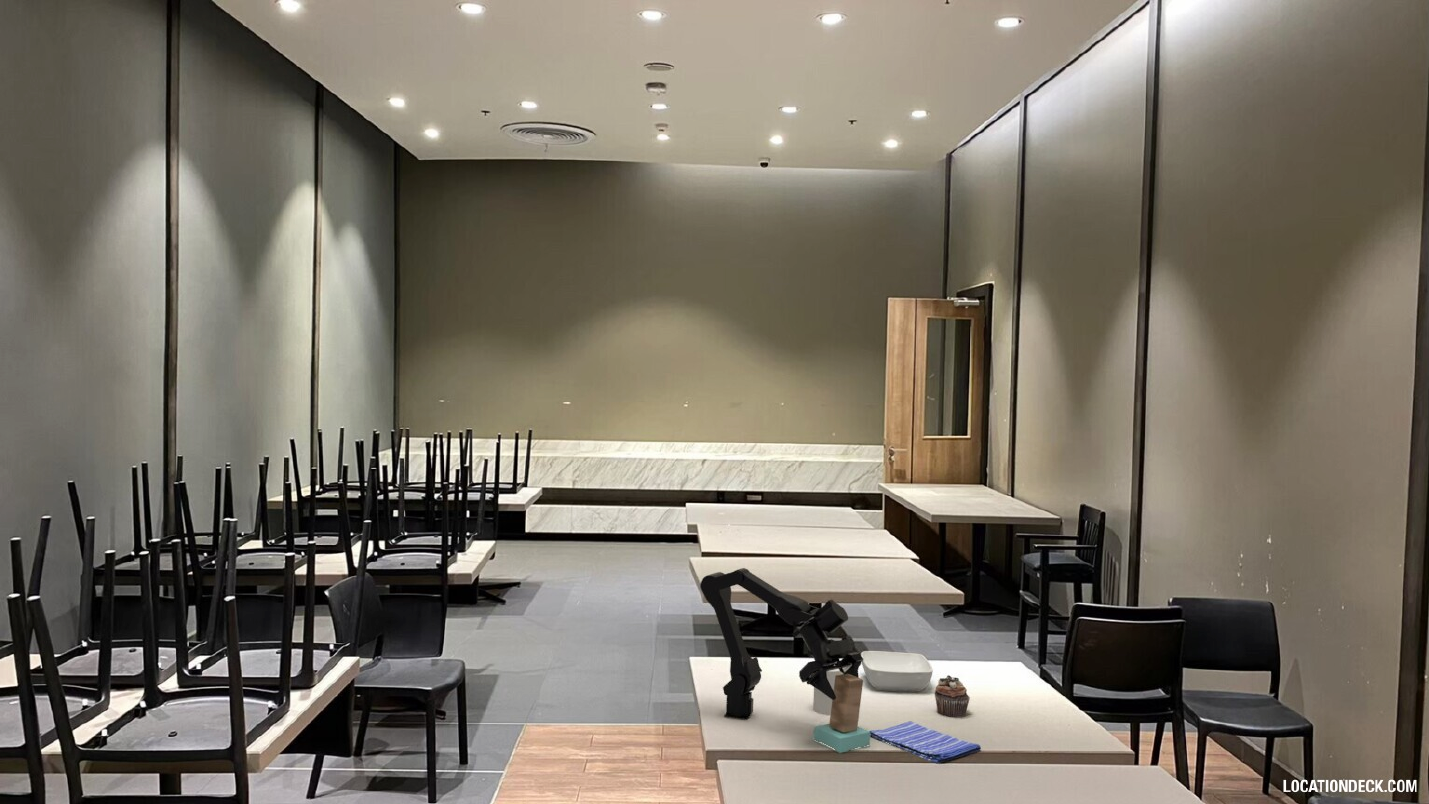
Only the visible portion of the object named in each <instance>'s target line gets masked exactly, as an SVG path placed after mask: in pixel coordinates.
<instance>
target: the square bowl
mask: <svg viewBox="0 0 1429 804" xmlns="http://www.w3.org/2000/svg"><path fill="white" fill-rule="evenodd" d="M860 654H861V656H862V658H863V661H862V662H861V666H862V668H863V671H864V674H865V677H866V679H867V681H868V682H869V683H870V684H871V685H872V686H873V687H874V688H875V690H878V691H887V692H888V691H891V692H911V693H913V692H915V693H919V692H920V691H922V690H923V689H925V688H926V687H928V685H929V684H930V682H931V679H932V677H933V670H934V669H933V666H932V665H931V663H930V662H929V661H930V660H928V659H927V657H925V656H924V655H923V654H921V653H914V652H901V651H900V652H898V651H897V652H896V651H895V652H894V651H882V650H881V651H880V650H864V651H862V652H861V653H860Z"/></svg>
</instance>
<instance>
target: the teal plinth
mask: <svg viewBox="0 0 1429 804" xmlns="http://www.w3.org/2000/svg"><path fill="white" fill-rule="evenodd" d="M869 731H870V730H867V729H864V728H862V727H860V726H858V727H857V731H851V732H844V733H843V732H841V731H839V730H836V729H834V728H832V727H829V723H826V724H821V725H820V724H819V725H817V726H814V727H813V741H814V740H816V741H818V742H822V743H824V744H826V745H828V746H830V747H832V748H834V749H835V750H836V751H835V752H837V753H839V754H841V753H846V752H849V751H848V750H851V751H853V750H852V749H855V748H858V747H864V746H867V745H870V746H871V737H870V732H869ZM816 741H815V742H816ZM818 742H817V743H818ZM864 748H865V747H864ZM855 750H856V749H855Z"/></svg>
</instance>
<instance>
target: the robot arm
mask: <svg viewBox="0 0 1429 804" xmlns="http://www.w3.org/2000/svg"><path fill="white" fill-rule="evenodd" d="M699 586H700V590H701V592H702V594H703V597H704V598H705V600H706V601H707V602H708V604H710V606H711V607H712V608H713V610H714V613H715V616H716V619H717V621H718V625H719V628H720V632H721V633H722V634H721V635H722V637H723V640H724V642H725V646H726V648H727V652H728V655H729V658H730V664H729V665H730V667H729V674H730V680H729V681H728V682H727V683H726V684H725V685H724V686H722V690H723V693H724V696H726V702H725V703H726V706H725V707H726V708H725V709H726V710H725V713H724V714H723V717H725V718H731V719H740V720H746V721H747V720H749V718H750V717H751V716H752V715H753V713H754V697H753V696H752V693H753V692H752V691H754V690H755V687H756V686H757V685H758V684H759V683H760V681H761V680H762V673H761V672H763V670H762V669H761V667H760V664H759V659H758V657H757V656H755V657H753V658H752V656H751V655H750V654H749V653H748V651H747V647H746V645H745V642H744V638H743V636H742V633H741V631H740V630H741V629H740V627H739V623H738V621H737V619H736V615H735V612H734V609H733V607H732V602H731V599H732V587H733V586H739V587H741V588H743V589H744V590H746V591H747V592H748V593H750V594H752V595H754V596H755V597H757V598H758V599H760V600H761V601H763V602H764V603H766V604H768V605H770V606H771V607H772V608H773V609H774V610H775V611H776V613H777V615H778V616H779V617H780V618H781V619H783V620H784V622H786V623H787V624H788V625H790V626H794V631H793V633H792V637H793V638H796V639H797V638H799V639H800V638H802V639H803V641H804V643H805V644H806V647H807V648H808V650H809V651H808V652H807V655H808V657H809V658H813V661H808V662H807V663H806V664H805V665H804V666H803V667H802V668H801V669H800V670H799V675H798V677H799V679H800V681H801V682H802V683H803V684H804V683H806V684H807V685H810V686H811V687H813V688H814V687H815V688H816V689H818V690H820V691H821V692H822V693H824V694H825V695H826V696H828V697H829V698H831V699H832V700H835V699H836V696H835V693H834V691H833V689H832V687H831V685H830V683H829V681H828V679H827V671H830V670H835V669H839V670H840V672H842V673H843V674H842V675H844V674H850V675H853V676H855V677H858V678H860V677H859V668H860V666H862V661H863V658H862V656H861V653H860V652H857V651H856V652H853V648H854V647H855V645H856V644H855V641H854V639H853V637H852V636H851V635H846V636H843V637H841V640H837V641H835V640H834V639H833V638H832V639H829V638H828V636H827V634H826V633H830V634H832V633H834V632H835V631H836V630H837V629H838V628H839V627H841V626H842V625H843V624H845V623H846V622H847V621H849V616H848V613H847V611H846V609H845V608H844V607H842V605H840V604H839V603H837V602H835V600H834V599H832V598H831V599H830V600H827V601H826V602H825V604H824V605H823V606H821V607H820V608H819V607H816V606H812V605H810V603H809V602H808V601H806V600H804V599H803V598H800V597H797V596H795V595H791V594H787V593H784V592H783V591H781V590H779V589H778V588H776V587H775V586H773V585H771V584H770V583H768V582H766V581H765V580H763V579H762V578H760V577H759V576H757V575H755V574H754V573H752V572H750V570H749V569H747V568H745V567H742V568H739V569H736V570H733V571H731V572H727V573H724V572H721V571H718V572H714V573H711V574H707V575H705V576H704V577H703V578H702V579H701V581H700V585H699ZM804 622H805V623H804ZM801 623H803V624H802V625H801V626H796V625H800V624H801ZM847 652H848V653H847ZM845 653H846V654H845ZM844 654H845V655H844ZM840 659H841V660H840ZM834 665H835V666H834Z"/></svg>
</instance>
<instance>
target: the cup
mask: <svg viewBox="0 0 1429 804" xmlns="http://www.w3.org/2000/svg"><path fill="white" fill-rule="evenodd" d="M834 666H835V665H834ZM842 674H843V673H842V672H840V670H839V669H835V670H830V671H827V679H828V681H829V683H830V685H831V687H832V689H833V691H834V683H835V675H842ZM812 703H813V704H812V705H813V706H812V707H813V708H812V710H813V711H814V712H815V713H818V714H821V715H827V716H828V715H831V707H832V699H831V698H829V697H828V696H826V695H825V694H824V693H822V692H821V691H820V690H818V689H816V688H815V687H813V701H812Z"/></svg>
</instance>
